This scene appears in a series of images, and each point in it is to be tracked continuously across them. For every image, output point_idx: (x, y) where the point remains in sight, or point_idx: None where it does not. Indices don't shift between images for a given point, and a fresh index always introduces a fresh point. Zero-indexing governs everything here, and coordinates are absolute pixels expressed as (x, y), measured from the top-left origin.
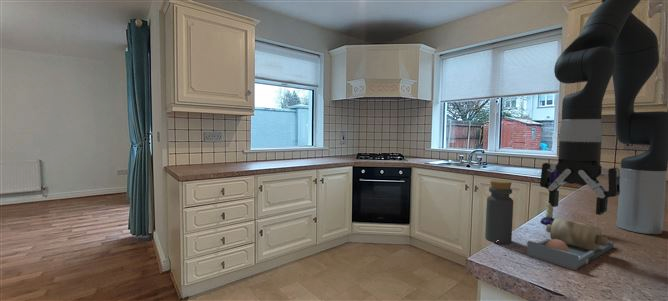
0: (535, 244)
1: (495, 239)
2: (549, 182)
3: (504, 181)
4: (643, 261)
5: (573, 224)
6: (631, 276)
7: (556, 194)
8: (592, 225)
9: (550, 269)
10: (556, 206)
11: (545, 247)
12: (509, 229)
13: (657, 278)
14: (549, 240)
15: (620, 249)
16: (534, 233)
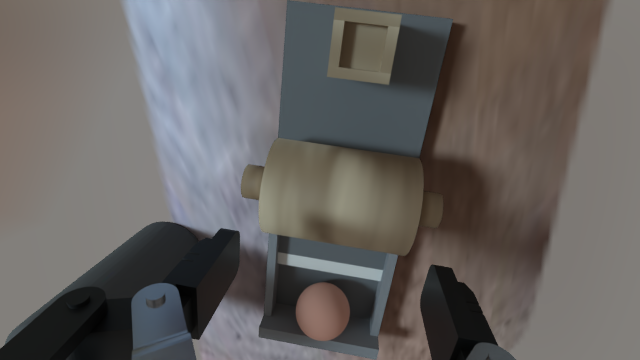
0: (279, 339)
1: None
2: (89, 327)
3: None
4: (528, 127)
5: (332, 236)
6: (480, 282)
7: (208, 303)
8: (378, 24)
9: (333, 351)
10: (239, 246)
11: (304, 344)
12: None
13: (536, 254)
14: (301, 326)
15: (470, 31)
16: (195, 83)
